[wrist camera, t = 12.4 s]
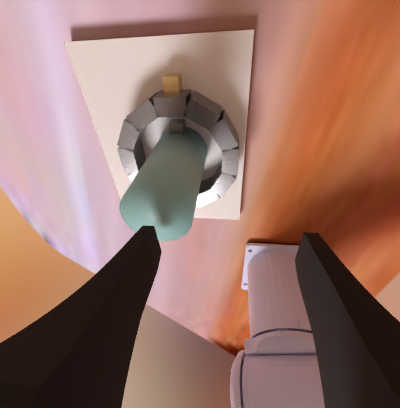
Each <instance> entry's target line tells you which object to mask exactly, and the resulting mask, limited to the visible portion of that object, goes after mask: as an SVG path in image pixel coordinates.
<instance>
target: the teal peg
mask: <svg viewBox="0 0 400 408" xmlns="http://www.w3.org/2000/svg"><path fill="white" fill-rule="evenodd" d="M168 125H169V129H168V130H167V131H165V132H164V133H163V135H162V136H161V138H160V139H159V141H158V142H157V144H156V146H155V147H154V149H153V150H152V152H151V153H150V155H149V156H148V158H147V160H146V161H145V163H144V164H143V166H142V167H141V169H140V170H139V172H138V174H137V175H136V177H135V178H134V180H133V181H132V183H131V184H130V186H129V188H128V189H127V191H126V192H125V194H124V195H123V197H122V199H121V201H120V213H121V216H122V218H123V220H124V221H125V223H126V224H127V225H128V226H129V227H130V228H131V229H132V230H134V231H135V232H137V231H138V230H139V229H140V228H141V227H142V226H143V225H144V226H154V227H155V230H156V234H157V238H158V241H171V240H176V239H179V238H181V237H183V236H184V235H185V234H187V233H188V231H189V230H190V228H191V226H192V221H193V217H194V212H195V207H196V203H197V198H198V194H199V189H200V184H201V180H202V175H203V170H204V166H205V161H206V156H207V146H206V143H205V141H204V139H203V137H202V136H201V135H200V134H199V133H198V132H197V131H195V130H194V129H192V128H189V127H186V123H185V119H171V121H170V122H169V124H168Z"/></svg>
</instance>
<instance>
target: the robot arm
mask: <svg viewBox="0 0 400 408" xmlns="http://www.w3.org/2000/svg"><path fill="white" fill-rule="evenodd" d="M249 249H251V250H249ZM160 256H161V248H160V245H159V241H158V238H157V234H156V230H155V227H154V226H144V225H143V226H142V227H141V228H140V229H139V230H138V231H137V232H136V233H135V234H134V236H133V237H132V238H131V239H130V240H129V241H128V242H127V243H126V244H125V245H124V246H123V248H122V249H121V250H120V251H119V252H118V253H117V254H116V255H115V256H114V257H113V258H112V259H111V260H110V261H109V262H108V263H107V264H106V265H105V266H104V267H103V268H102V269H101V270H100V271H99V272H98V273H97V274H95V275H94V276H93V277H92V278H91V279H90V280H89V281H88V282H86V284H84V285H83V286H82V287H81V288H79V289H78V290H77V291H76V292H75V293H73V294H72V295H71V296H69V297H68V298H67V299H66V300H64V301H63V302H62V303H60V304H59V305H58V306H56V307H55V308H54V309H52V310H51V311H49V312H48V313H47V314H45V315H44V316H42V317H41V318H39V319H38V320H37V321H35V322H33V323H32V324H30V325H29V326H27V327H26V328H24V329H23V330H21V331H19V332H18V333H16V334H15V335H13V336H12V337H10V338H8V339H6V340H5V341H3V342H1V343H0V408H121V406H122V399H123V395H124V389H125V384H126V379H127V375H128V370H129V365H130V360H131V356H132V352H133V347H134V343H135V339H136V335H137V331H138V327H139V323H140V320H141V316H142V313H143V310H144V307H145V304H146V302H147V299H148V296H149V293H150V290H151V287H152V285H153V282H154V279H155V276H156V273H157V270H158V266H159V261H160ZM241 288H242V289H243V290H248V299H249V321H250V339H245V350H242V351H240V352H239V353H238V354H237V356H236V358H235V360H234V362H233V366H232V370H231V377H230V398H231V408H400V322H399V321H398V320H397V319H396V318H394V317H393V316H392V315H391V314H390V313H389V312H388V311H387V310H386V309H385V308H384V307H383V306H382V305H381V304H380V303H379V302H378V301H377V300H376V299H375V298H374V297H373V296H372V295H371V294H370V293H369V292H368V291H367V290H366V289H365V288H364V287H363V286H362V284H361V283H360V282H359V281H358V280H357V279H356V278H355V277H354V276H353V274H352V273H351V272H350V271H349V270H348V269H347V268H346V267H345V265H344V264H343V263H342V262H341V261H340V259H339V258H338V257H337V256H336V255H335V253H334V252H333V251H332V250H331V249H330V247H329V246H328V245H327V244H326V242H325V241H324V240H323V239H322V237H321V236H320V235H319V234H318V233H305V232H304V233H303V236H302V239H301V242H300V245H299V246H298V245H281V244H264V243H247V244H246V249H245V257H244V266H243V275H242V283H241Z"/></svg>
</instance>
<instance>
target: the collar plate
mask: <svg viewBox="0 0 400 408" xmlns="http://www.w3.org/2000/svg"><path fill="white" fill-rule="evenodd" d="M253 39H254V29H250V30H235V31H219V32H204V33H189V34H174V35H159V36H144V37H128V38H113V39H98V40H83V41H69V42H64V43H65V46H66V49H67V52H68V54H69V57H70V60H71V63H72V66H73V68H74V71H75V74H76V77H77V79H78V82H79V85H80V88H81V91H82V93H83V96H84V99H85V102H86V105H87V107H88V110H89V113H90V116H91V118H92V121H93V124H94V127H95V130H96V132H97V135H98V138H99V141H100V143H101V146H102V149H103V152H104V155H105V157H106V160H107V163H108V166H109V168H110V171H111V174H112V177H113V180H114V182H115V185H116V188H117V191H118V194H119V196H120V199H122V197H123V195H124V194H125V192H126V191H127V189H128V188H129V186H130V184H131V183H132V181H133V180H134V178H135V177H136V175H137V174H138V172H139V170H140V169H141V167H142V166H143V164H144V163H145V161H146V160H147V158H148V156H149V155H150V153H151V152H152V150H153V149H154V147H155V146H156V144H157V142H158V141H159V139H160V138H161V136H162V135H163V133H164V132H165V131H167V130H168V129H169V125H168V124H169V122H170V121H171V119H185V123H186V127H189V128H192V129H194V130H195V131H197V132H198V133H199V134H200V135H201V136H202V137H203V139H204V141H205V143H206V146H207V156H206V161H205V166H204V170H203V175H202V180H201V184H200V189H199V194H198V198H197V203H196V207H195V212H194V217H193V218H212V219H234V220H239V218H240V205H241V192H242V179H243V166H244V154H245V141H246V128H247V115H248V103H249V90H250V77H251V64H252V52H253Z"/></svg>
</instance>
